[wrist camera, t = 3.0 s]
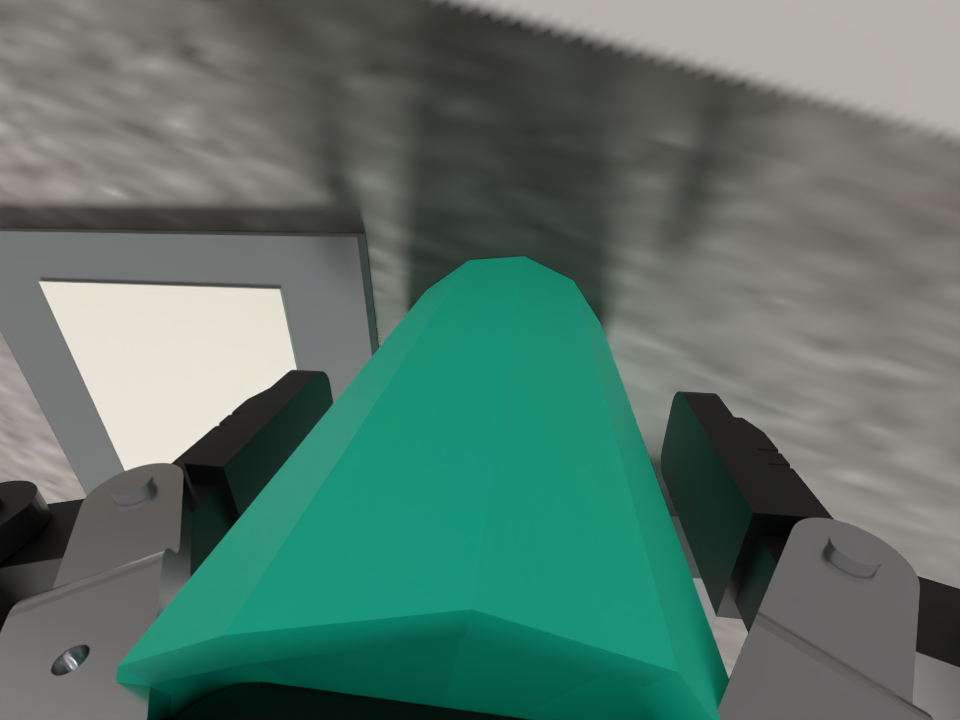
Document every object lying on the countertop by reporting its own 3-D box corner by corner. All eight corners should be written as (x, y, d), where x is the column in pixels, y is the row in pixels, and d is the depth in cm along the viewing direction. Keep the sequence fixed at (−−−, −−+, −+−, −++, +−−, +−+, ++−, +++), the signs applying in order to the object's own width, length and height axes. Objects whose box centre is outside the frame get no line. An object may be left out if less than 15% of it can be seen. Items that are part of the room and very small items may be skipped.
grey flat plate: (365, 233, 12) (355, 238, 12) (398, 521, 17) (393, 535, 16) (-29, 227, 14) (-57, 230, 13) (103, 493, 18) (88, 505, 18)
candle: (376, 292, 13) (-395, 958, 2) (573, 223, 11) (1072, 1265, 1) (451, 449, 15) (239, 1164, 4) (624, 408, 14) (935, 1349, 3)
